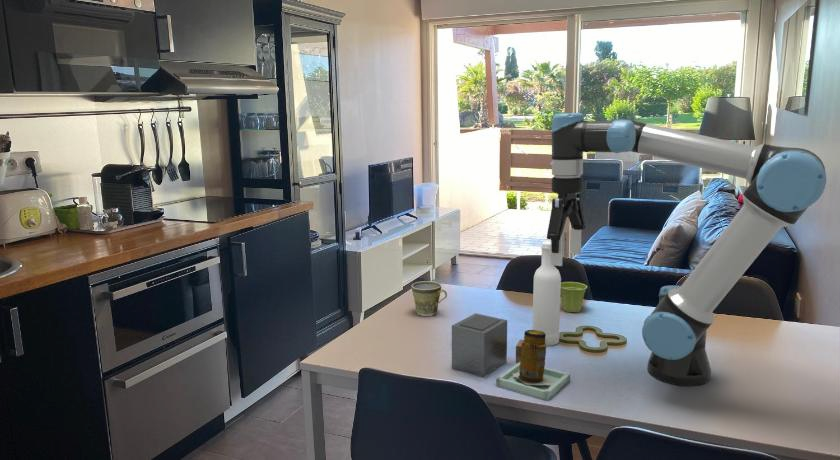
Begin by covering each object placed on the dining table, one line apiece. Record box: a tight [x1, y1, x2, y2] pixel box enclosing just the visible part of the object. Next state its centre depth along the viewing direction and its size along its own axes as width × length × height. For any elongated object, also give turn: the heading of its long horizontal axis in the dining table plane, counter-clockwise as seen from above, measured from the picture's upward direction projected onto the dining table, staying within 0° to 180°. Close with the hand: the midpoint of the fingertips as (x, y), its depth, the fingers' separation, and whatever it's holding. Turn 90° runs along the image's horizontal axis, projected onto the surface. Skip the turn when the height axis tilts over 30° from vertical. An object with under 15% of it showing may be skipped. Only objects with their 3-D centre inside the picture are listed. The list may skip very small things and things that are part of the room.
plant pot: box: [560, 281, 588, 314], centre depth 212 cm, size 9×9×9 cm
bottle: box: [531, 240, 562, 347], centre depth 183 cm, size 8×8×30 cm
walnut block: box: [515, 339, 524, 364], centre depth 171 cm, size 5×5×5 cm
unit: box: [451, 313, 508, 378], centre depth 168 cm, size 10×12×12 cm
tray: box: [495, 362, 571, 402], centre depth 158 cm, size 14×13×2 cm
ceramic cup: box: [411, 280, 448, 317], centre depth 209 cm, size 13×10×10 cm
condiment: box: [513, 329, 553, 385], centre depth 156 cm, size 7×8×12 cm
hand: (566, 259), depth 159 cm, fingers open, 13 cm apart
